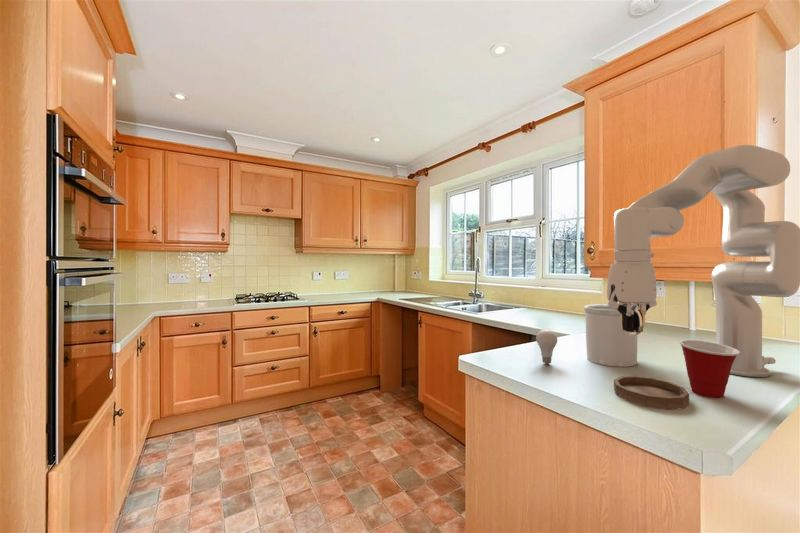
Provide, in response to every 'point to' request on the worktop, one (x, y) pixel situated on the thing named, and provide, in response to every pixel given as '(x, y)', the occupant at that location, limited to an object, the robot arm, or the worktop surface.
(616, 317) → the utensil holder
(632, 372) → the worktop surface
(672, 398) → the ring dish
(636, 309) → the gold round band
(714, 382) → the plastic cup
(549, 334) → the lightbulb
